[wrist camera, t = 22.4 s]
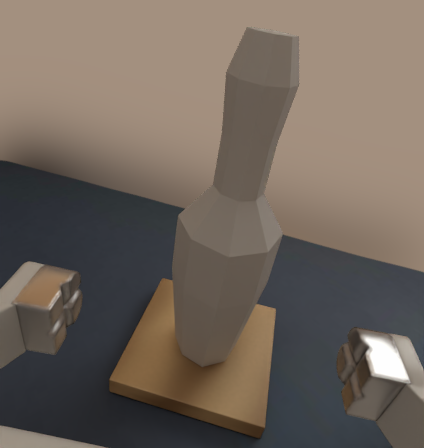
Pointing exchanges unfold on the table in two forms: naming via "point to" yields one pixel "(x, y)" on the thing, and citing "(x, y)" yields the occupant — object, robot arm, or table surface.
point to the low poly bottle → (235, 203)
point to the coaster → (198, 370)
